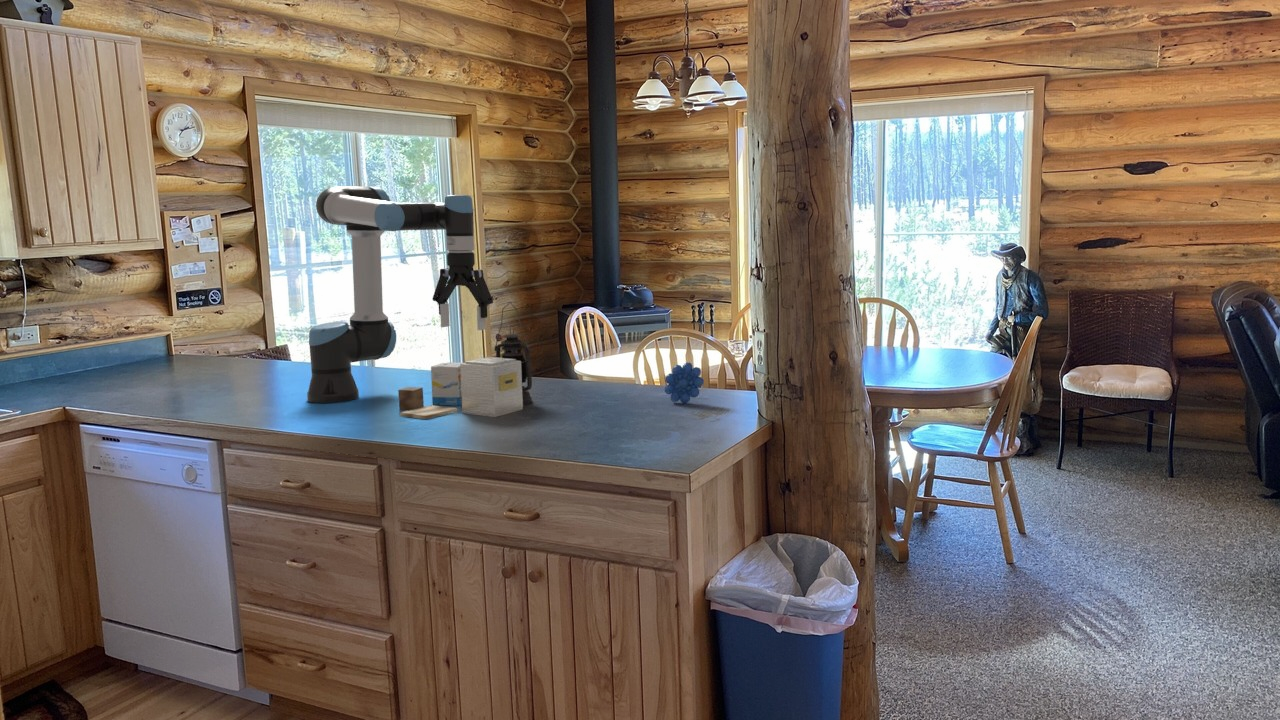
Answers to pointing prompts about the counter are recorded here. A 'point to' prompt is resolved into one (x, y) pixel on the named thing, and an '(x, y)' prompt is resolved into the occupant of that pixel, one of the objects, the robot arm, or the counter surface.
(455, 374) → the ink box
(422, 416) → the board
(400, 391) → the walnut block
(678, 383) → the blue flower
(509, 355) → the lantern
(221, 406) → the counter surface
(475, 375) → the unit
